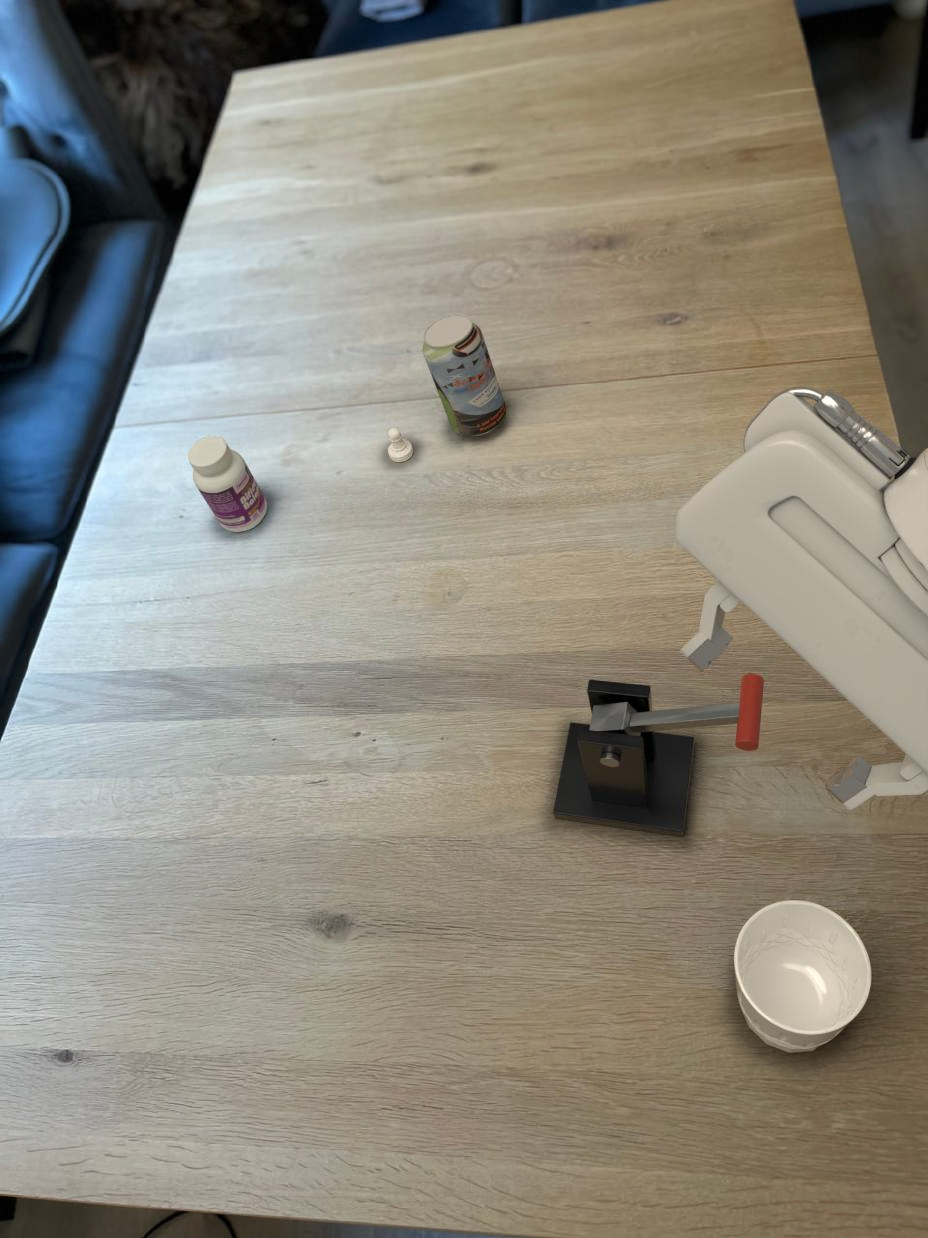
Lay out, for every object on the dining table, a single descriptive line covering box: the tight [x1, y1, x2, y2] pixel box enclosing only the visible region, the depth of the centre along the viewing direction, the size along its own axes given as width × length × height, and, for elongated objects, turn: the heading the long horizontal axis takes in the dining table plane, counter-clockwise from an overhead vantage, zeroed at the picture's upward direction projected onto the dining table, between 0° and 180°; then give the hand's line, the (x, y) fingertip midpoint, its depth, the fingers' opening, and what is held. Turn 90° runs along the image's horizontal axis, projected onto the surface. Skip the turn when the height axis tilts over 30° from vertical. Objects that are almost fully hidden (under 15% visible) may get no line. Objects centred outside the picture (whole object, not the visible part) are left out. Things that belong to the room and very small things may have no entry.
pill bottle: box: [187, 435, 268, 533], centre depth 99 cm, size 5×5×10 cm
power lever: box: [589, 673, 765, 752], centre depth 68 cm, size 12×5×2 cm, turn 77°
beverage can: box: [422, 313, 508, 437], centre depth 99 cm, size 6×7×12 cm
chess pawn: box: [387, 427, 414, 463], centre depth 102 cm, size 3×3×4 cm
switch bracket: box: [552, 679, 695, 838], centre depth 74 cm, size 10×8×12 cm
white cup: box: [733, 899, 872, 1054], centre depth 64 cm, size 8×8×10 cm
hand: (765, 724), depth 48 cm, fingers open, 8 cm apart
